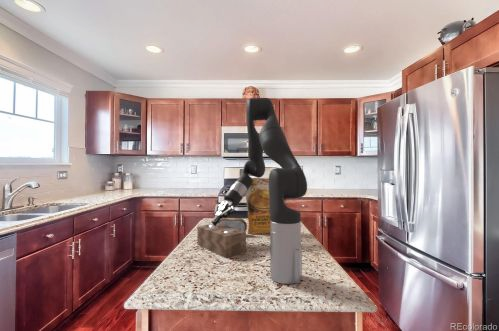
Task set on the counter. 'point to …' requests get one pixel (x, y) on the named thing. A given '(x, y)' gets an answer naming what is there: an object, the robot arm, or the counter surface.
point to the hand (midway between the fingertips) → (213, 223)
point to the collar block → (221, 240)
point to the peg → (213, 226)
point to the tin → (234, 223)
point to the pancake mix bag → (258, 207)
